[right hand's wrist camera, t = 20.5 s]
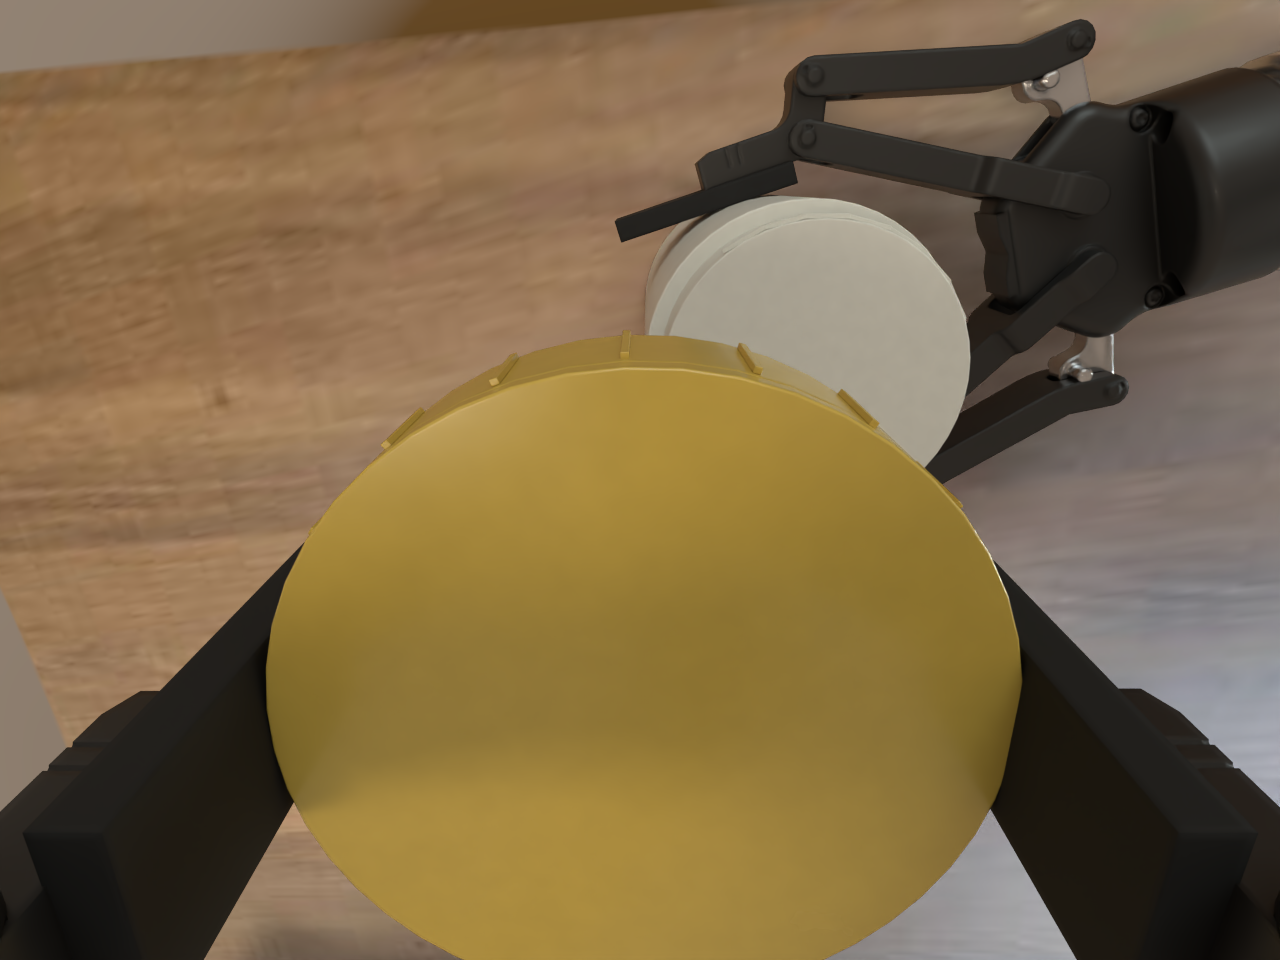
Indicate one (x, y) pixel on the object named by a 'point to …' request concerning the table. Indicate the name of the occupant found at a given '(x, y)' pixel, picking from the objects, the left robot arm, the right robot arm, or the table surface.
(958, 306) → the jar
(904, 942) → the table surface
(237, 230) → the table surface
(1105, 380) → the left robot arm
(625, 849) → the lid
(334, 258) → the table surface
